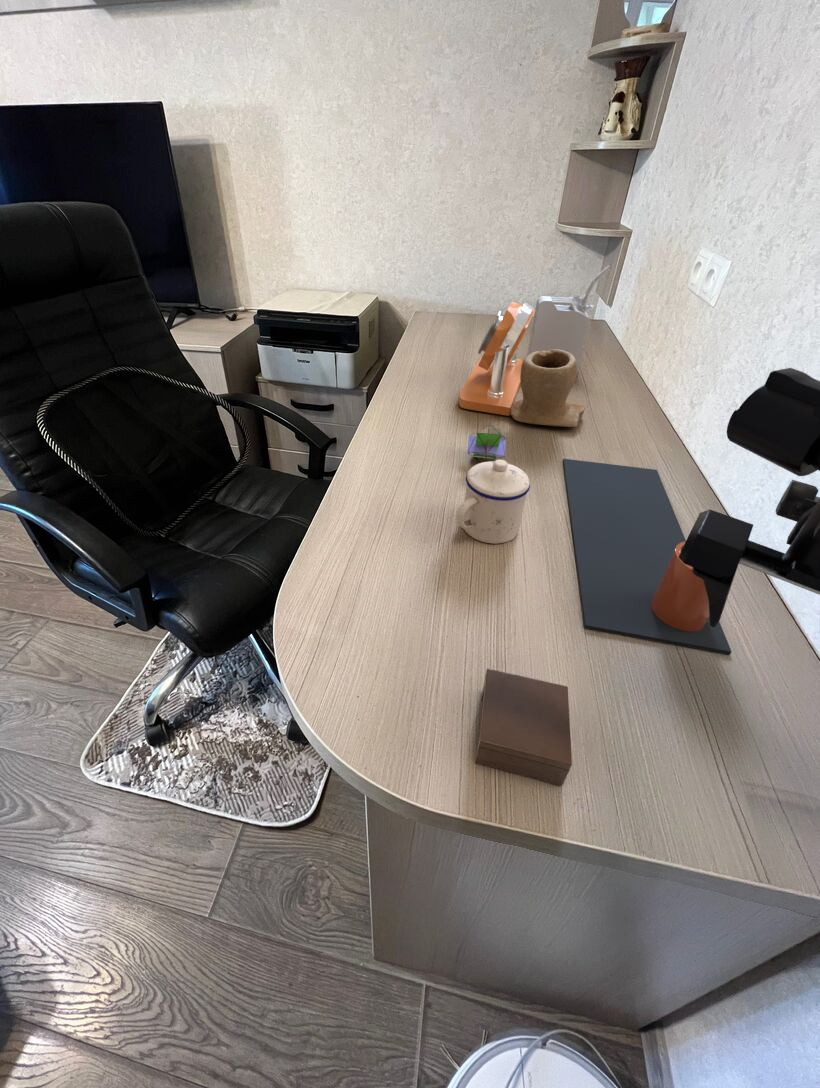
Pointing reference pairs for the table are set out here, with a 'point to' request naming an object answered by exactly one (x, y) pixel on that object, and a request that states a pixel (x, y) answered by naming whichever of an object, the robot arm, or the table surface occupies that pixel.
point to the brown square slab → (525, 727)
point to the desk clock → (498, 363)
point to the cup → (681, 596)
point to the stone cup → (548, 390)
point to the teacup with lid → (493, 501)
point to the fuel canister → (562, 323)
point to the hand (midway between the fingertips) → (771, 650)
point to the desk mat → (626, 551)
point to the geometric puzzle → (487, 443)
